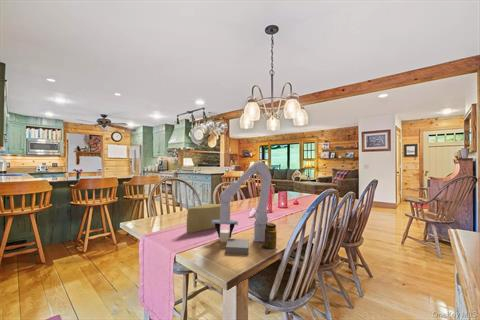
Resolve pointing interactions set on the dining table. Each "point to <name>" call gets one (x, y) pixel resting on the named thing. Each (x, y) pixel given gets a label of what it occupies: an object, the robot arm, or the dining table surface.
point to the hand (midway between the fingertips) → (224, 237)
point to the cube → (224, 235)
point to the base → (237, 246)
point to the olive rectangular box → (202, 217)
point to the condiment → (270, 238)
